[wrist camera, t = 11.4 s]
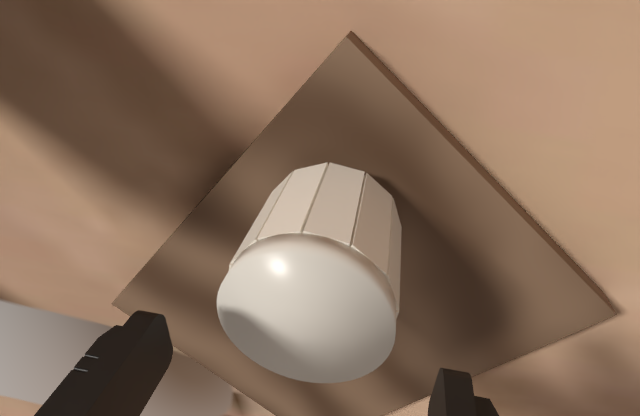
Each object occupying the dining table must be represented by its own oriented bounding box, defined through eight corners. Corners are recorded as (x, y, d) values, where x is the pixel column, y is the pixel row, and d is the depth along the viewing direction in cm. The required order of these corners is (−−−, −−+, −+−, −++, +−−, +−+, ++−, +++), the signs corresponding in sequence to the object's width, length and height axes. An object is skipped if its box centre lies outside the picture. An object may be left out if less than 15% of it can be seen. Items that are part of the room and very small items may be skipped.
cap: (336, 293, 20) (312, 402, 15) (243, 220, 19) (185, 313, 14) (428, 229, 17) (436, 338, 12) (326, 136, 16) (289, 216, 11)
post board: (320, 424, 31) (298, 540, 25) (125, 287, 27) (40, 386, 21) (603, 293, 20) (691, 440, 14) (350, 30, 16) (315, 74, 10)
